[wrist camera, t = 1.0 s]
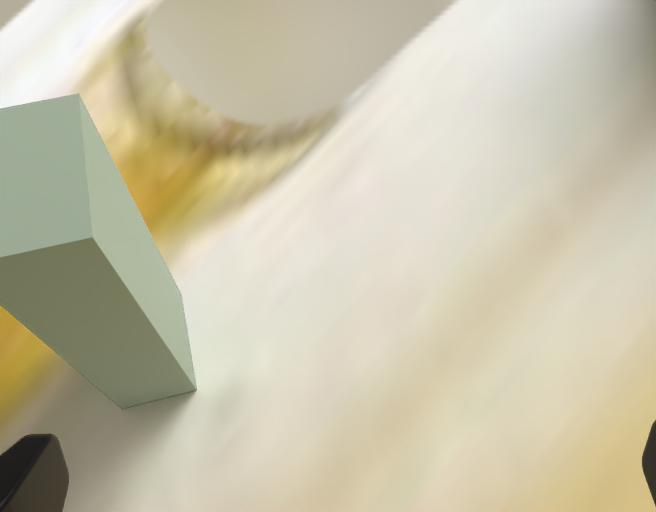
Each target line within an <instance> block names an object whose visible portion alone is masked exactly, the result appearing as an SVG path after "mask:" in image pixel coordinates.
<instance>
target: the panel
mask: <svg viewBox="0 0 656 512" xmlns="http://www.w3.org/2000/svg"><path fill="white" fill-rule="evenodd" d="M0 305H1V306H2V307H3V308H4V309H6V310H7V311H8V312H9V313H10V314H11V315H13V316H14V317H15V318H16V319H17V320H18V321H20V322H21V323H22V324H23V325H24V326H25V327H27V328H28V329H29V330H30V331H31V332H33V333H34V334H35V335H36V336H37V337H38V338H40V339H41V340H42V341H43V342H44V343H45V344H47V345H48V346H49V347H50V348H51V349H52V350H54V351H55V352H56V353H57V354H58V355H59V356H61V357H62V358H63V359H64V360H65V361H67V362H68V363H69V364H70V365H71V366H72V367H74V368H75V369H76V370H77V371H78V372H79V373H81V374H82V375H83V376H84V377H85V378H86V379H88V380H89V381H90V382H91V383H92V384H93V385H95V386H96V387H97V388H98V389H99V390H101V391H102V392H103V393H104V394H105V395H106V396H108V397H109V398H110V399H111V400H112V401H113V402H115V403H116V404H117V405H118V406H119V407H120V408H122V409H123V408H127V407H131V406H135V405H139V404H143V403H147V402H151V401H155V400H159V399H163V398H167V397H171V396H175V395H179V394H183V393H187V392H191V391H195V390H197V388H196V382H195V375H194V369H193V363H192V357H191V351H190V345H189V339H188V333H187V327H186V320H185V314H184V308H183V302H182V296H181V292H180V290H179V288H178V287H177V285H176V283H175V281H174V279H173V277H172V275H171V273H170V271H169V269H168V267H167V265H166V263H165V261H164V259H163V257H162V255H161V253H160V251H159V249H158V247H157V245H156V244H155V242H154V240H153V238H152V236H151V234H150V232H149V230H148V228H147V226H146V224H145V222H144V220H143V218H142V216H141V214H140V212H139V210H138V208H137V206H136V204H135V202H134V200H133V199H132V197H131V195H130V193H129V191H128V189H127V187H126V185H125V183H124V181H123V179H122V177H121V175H120V173H119V171H118V169H117V167H116V165H115V163H114V161H113V159H112V157H111V156H110V154H109V152H108V150H107V148H106V146H105V144H104V142H103V140H102V138H101V136H100V134H99V132H98V130H97V128H96V126H95V124H94V122H93V120H92V118H91V116H90V114H89V113H88V111H87V109H86V107H85V105H84V103H83V101H82V99H81V97H80V95H79V94H74V95H69V96H64V97H59V98H53V99H48V100H43V101H38V102H33V103H27V104H22V105H17V106H12V107H7V108H1V109H0Z"/></svg>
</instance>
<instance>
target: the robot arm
mask: <svg viewBox="0 0 656 512" xmlns="http://www.w3.org/2000/svg"><path fill="white" fill-rule="evenodd" d="M642 467H643V472H644V475H645V478H646V481H647V484H648V486H649V489H650V492H651V495H652V498H653V500H654V503H655V506H656V420H655V421H654V422H653V424H652V427H651V430H650V433H649V437H648V440H647V443H646V446H645V449H644V452H643V456H642ZM68 484H69V473H68V469H67V466H66V462H65V459H64V456H63V453H62V450H61V446H60V443H59V440H58V438H57V437H56V436H55V435H53V434H30V435H26V436H24V437H23V438H21V439H20V440H19V441H18V442H17V443H15V444H14V445H13V446H12V447H10V448H9V449H8V450H7V451H6V452H4V453H3V454H2V455H1V456H0V512H62V510H63V506H64V502H65V498H66V494H67V490H68Z"/></svg>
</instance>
